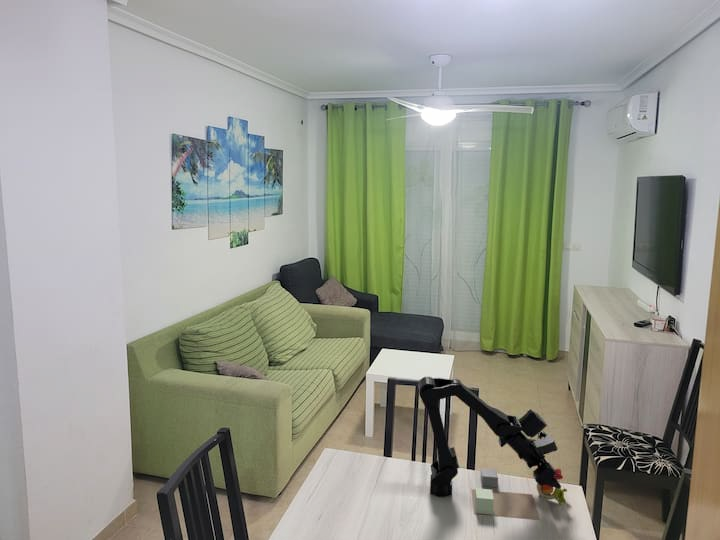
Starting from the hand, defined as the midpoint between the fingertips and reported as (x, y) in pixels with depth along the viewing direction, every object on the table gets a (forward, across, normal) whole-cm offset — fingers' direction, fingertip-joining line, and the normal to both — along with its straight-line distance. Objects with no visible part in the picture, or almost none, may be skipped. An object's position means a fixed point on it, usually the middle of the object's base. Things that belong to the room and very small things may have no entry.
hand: (555, 479), depth 171 cm
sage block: (-12, -8, +21) cm, 25 cm away
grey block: (-8, +7, +19) cm, 22 cm away
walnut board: (-7, -5, +17) cm, 19 cm away
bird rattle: (+5, 0, +6) cm, 8 cm away
